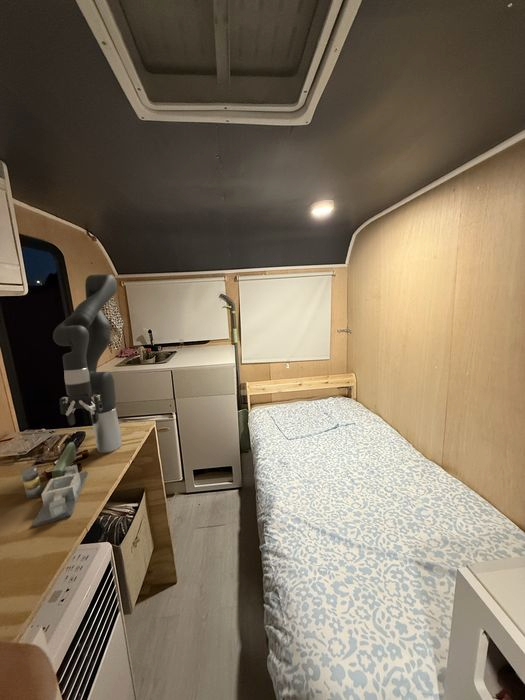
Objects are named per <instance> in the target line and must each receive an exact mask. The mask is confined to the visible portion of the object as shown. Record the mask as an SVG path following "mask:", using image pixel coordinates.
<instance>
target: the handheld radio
mask: <svg viewBox="0 0 525 700" xmlns="http://www.w3.org/2000/svg"><path fill="white" fill-rule="evenodd" d="M78 450H79V447H76V445H75V443H74V441H72V442H69V443H68V444H67V445H66V446H65V448H64V451H63V452H62V454H61V455H60V457H59V459H58V460H57V462H56V464H55V465H54V466H53V468H52V470H51V477H52V479H53V478H57V477H61V476H64V474H63V470H64V468H65V467H68V466H70V465H71V463H72V462H73V461H74V459H75V457H76V458H77V453H78V452H79V451H78ZM76 452H77V453H76ZM75 460H76V459H75ZM74 462H75V461H74Z"/></svg>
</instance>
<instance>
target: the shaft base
mask: <svg viewBox="0 0 525 700" xmlns="http://www.w3.org/2000/svg"><path fill="white" fill-rule="evenodd" d="M63 474H64V476H61V477H57V478H53V477H52V478H50V480H49V481H48V482H47V484H46V487H45V488H44V490H42V491H43V492H42V493H41V494H40V496H41V497H42V498H41V500H42V503H43V504H42V507H40V510H39V511H38V513H37V515H36V517H35V518H34V520H33V523H32V526H33V527H34V528H35V527H38V526H41V525H45V524H49V523H52V522H56V521H59V520H64V519H67V518H71V517H72V514H73V512H74V510H75V507H76V504H77V502H78V499H79V498H80V494H81V492H82V489H83V487H84V485H85V481H86V479H87V477H88V474H89V473H88V470H87V471H82V472H81V471H80V472H79V470H78V464H73V465H72V466H68V467H65V468H64V470H63Z"/></svg>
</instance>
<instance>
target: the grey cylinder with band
mask: <svg viewBox="0 0 525 700" xmlns="http://www.w3.org/2000/svg"><path fill="white" fill-rule="evenodd" d="M20 473H21V474H20V475H21V477H22V478H21V479H22V481H23V482H22V483H23V487H24V490H25V494H26V498H27V499H29V500H30V499H31V500H32V499H34V498H37V497H39V496H41V494H42V493H43V491H44V490H43V488H42V483H41V480H40V475H39V471H38V466H37V465H31V466H28V467H26V468H24V469H22V470H21V471H20Z"/></svg>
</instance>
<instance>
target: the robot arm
mask: <svg viewBox="0 0 525 700" xmlns="http://www.w3.org/2000/svg"><path fill="white" fill-rule="evenodd" d="M84 286H85V299H84V300H83V301H82V302H80V303H79V304H78V305H77V306H76V307H75V309H74V310H73V312H72V313H71V315H70V316H69V317H67V318H66V319H64V320H63V321H62V322H60V323H59V324H58V325H57V326H56V327H55V329H54V330H53V334H52V338H53V341H54V343H56V345H58V346H61V347H70V346H71V347H73V349H72V351H70V352H67V353H64V354H63V355H62V363H63V364H62V365H63V369H64V370H63V372H64V377H63V378H64V383H65V384H64V385H65V391H66V395H67V396H63V397H61V398H59V399H58V400H59V401H58V402H59V411H60V415H66V418H67V423H68V424H69V425H68V426H73V425H75V424H76V418H75V413H74V412H75V410H78V409H79V410H80V409H85V410H87V411H89V413H90V416H91V420H92V421H91V422H92V428H93V434H94V439H95V444H96V450H97V452H98V453H100V454H101V453H102V454H106V453H111V452H114V451H116V450H117V449H119V448H120V447H122V444H123V443H122V442H123V440H122V433H121V428H120V422H119V419H118V418H119V417H118V412H117V406H116V397H117V396H116V391H115V389H116V387H115V379H114V376H113V374H112V373H111V372H109V371H97V367H98V363H99V361H100V358H101V357H102V355H103V354H104V352H105V351H106V350H107V348H108V347H109V344H110V343H111V337H112V336H111V330H112V327H111V324H110V321H109V320H108V318H107V317H106V315H105V314H104V312H103V311H102V309H103V307H104V306H105V305H106V304H107V303H108V302H109V301H110V300H111V299H112V298H113V297H114V296H115V295H116V293H117V291H118V282H117V280H116V278H115V276H114V275H112V274H110V273H109V274H108V273H101V274H100V273H99V274H96V273H95V274H89V275H87V277H86V278H85V284H84ZM69 404H70V405H69Z"/></svg>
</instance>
